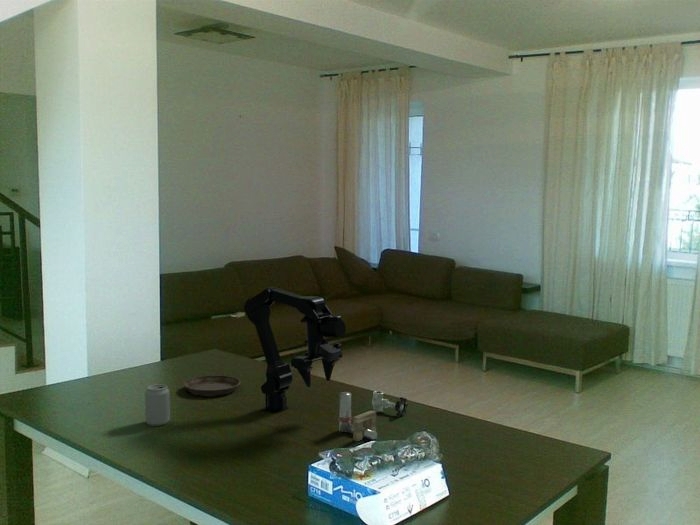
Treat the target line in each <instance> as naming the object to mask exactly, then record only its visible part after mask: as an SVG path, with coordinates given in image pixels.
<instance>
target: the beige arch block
mask: <svg viewBox="0 0 700 525" xmlns="http://www.w3.org/2000/svg"><path fill="white" fill-rule="evenodd" d="M352 421H353V424H352V425H353V433H352V439H354V440H356V441H360V440H362V439H363V438H364V436H363V428H364V426H363V422H365V421H366V429H368V430H372V431H375V432H377V412H375V411H373V409H372V410H369V411H366V412H363V413H361V414H358V415H356V416H352ZM356 441H355V442H356ZM362 441H363V440H362ZM360 442H361V441H360Z"/></svg>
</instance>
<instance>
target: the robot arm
mask: <svg viewBox="0 0 700 525" xmlns="http://www.w3.org/2000/svg"><path fill="white" fill-rule="evenodd" d="M274 303H277V304H278V303H279V304H282V305H284V306H285V305H286V306H288V307H291V308H295V309H296V310H297V311H298V312H299V313H300V314H302V315H304V316H303V317H302V318H301V319H300V323H304V324H305V326H306V330H305V331H306V339H304V343H305V344H307V351H306V352H305V353H304V354H305V356H304V355H298V356H294V357H292V358H291V360H290V364H289V363H285V362H284V361H282V359H281V354H280V351H279V350H278V349H279V348H278V345H277V342H276V339H275V337H274V333H273V330H272V327H271V323H270V316H271V306H273V305H274ZM243 309H244V312H245V315H246V316H247V319H248V320H249V321H250V322H251V323H252V324H253V325H254V328H255V330H256V333H257V335H258V336H257V337H258V339H259V343H260V346H261V348H262V352H263V355H264V358H265V361H266V364H267V365H266V366H267V367H266V372H265V377H266V381H265V382H263V384H262V385H261V386H260V390H261V392H262V394H264V396H265V397H264V398H265V406H264V407H263V408H262V410H263V411H267V412H272V413H281V412H282V411H284V410H287V409H288V408H289V406H288V404H287V403H288V402H287V400H288V399H287V398H288V397H287V395H286V393H287V392H286V391H288V390H289V389H290V386H291V384H292V382H293V375H294V374H293V372H292V370H291V367H293V368H294V369H295V370H297V372H298V373H299V375H300V377H301V379H302V380H303V382H304V383H305V385H306V387H307V388H311V381H312V380H311V371H312V369H313V368H314V366H312V364H313V363H314V362H317V361H319V360H320V361H321V363H322V367H323V373H324V377H325V379H326V382H329V381H331V378H332V375H333V374H332V372H333V370H334V367H335V364H337V362H338V361H341V360H340V358H343V345H342V344H341V343H339V342H337V343H335V344H329V339H328V338H338V339H342V338H343V337H344V336H345V334H346V330H347V326H346V323H345V322H344V320H342V316H341V315H336V316H334V315H333V313H332V311H331V310H330V309H329V306H327V304H326V301H325V299H324V298H323V297H321V296H315V295H314V296H313V295H312V296H311V295H300V294H297V293H294V292H290V291H287V290H285V289H284V290H283V289H280V288H278V287H275V286H271V287H266V288H264V289H263V290H262V291H261V292H260V293H258V294H256V295H254V296H253V297H251V298H249V299H247V300H246V301H245V303H244V304H243Z"/></svg>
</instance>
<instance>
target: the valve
mask: <svg viewBox="0 0 700 525" xmlns="http://www.w3.org/2000/svg"><path fill="white" fill-rule="evenodd" d="M399 400H400V401H399ZM399 400H397V401H396V403H395V402H394V401H393V402H392V401H390V400H389V399H388V398H384V391H381V390H374V391H373V392H372V400H371V404H372V405H371V406H372V411H375V412H376V413H381V411H382V413H383V411H384V408H385V409H387V408H392V409H395V410H394V411H397V413H396V417H400V416H401V417H402V418H403V417H404V414H407V408H408V406H409V404H408V403H407V401H408V399H407V398H406V397H399Z"/></svg>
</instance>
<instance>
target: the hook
mask: <svg viewBox="0 0 700 525" xmlns="http://www.w3.org/2000/svg"><path fill="white" fill-rule="evenodd" d="M337 420H338V422H339V423H338V425H339V426H338V428H339V430H338V432H340V431H341V432H349V433H350V434H351V433H352V434H353V424H352V421H353V416H352V393H351V392H350V391H342V392H339V416H338V417H337ZM341 432H340V433H341ZM378 436H379V435H378V432H377V431H376V432H375V431H372V430H368V429H367V428H365V427H363V438H367V439H370V440H373V439H376V440H377V438H378Z"/></svg>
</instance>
